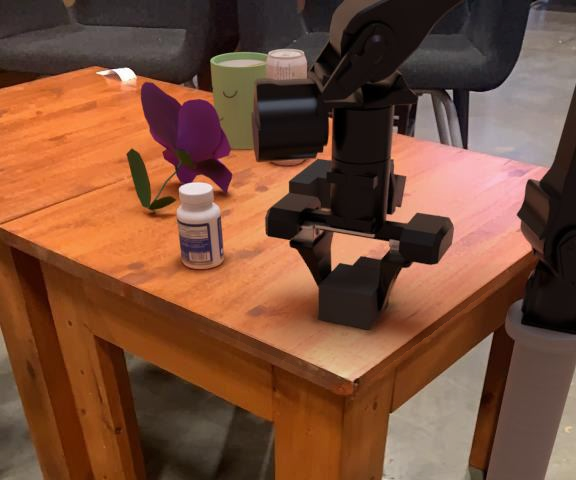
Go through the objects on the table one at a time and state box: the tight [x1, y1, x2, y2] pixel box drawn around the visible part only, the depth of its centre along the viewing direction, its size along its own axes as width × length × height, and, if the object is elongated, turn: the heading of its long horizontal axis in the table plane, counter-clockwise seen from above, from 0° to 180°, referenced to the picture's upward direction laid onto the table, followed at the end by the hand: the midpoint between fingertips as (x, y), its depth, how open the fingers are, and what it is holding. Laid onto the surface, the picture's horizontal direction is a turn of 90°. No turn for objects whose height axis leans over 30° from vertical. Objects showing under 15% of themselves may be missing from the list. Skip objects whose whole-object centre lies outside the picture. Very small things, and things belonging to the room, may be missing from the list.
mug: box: [209, 51, 268, 150], centre depth 125 cm, size 13×10×12 cm
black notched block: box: [288, 158, 331, 209], centre depth 107 cm, size 10×10×4 cm
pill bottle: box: [176, 181, 225, 270], centre depth 92 cm, size 5×5×9 cm
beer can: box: [266, 48, 308, 166], centre depth 117 cm, size 6×6×15 cm
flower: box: [126, 81, 233, 213], centre depth 106 cm, size 15×15×14 cm
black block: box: [317, 255, 390, 331], centre depth 84 cm, size 6×9×4 cm
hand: (354, 304), depth 84 cm, fingers closed on black block, 6 cm apart
